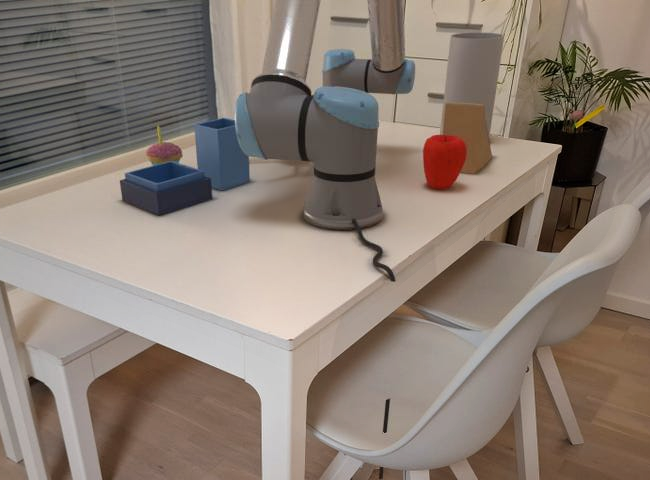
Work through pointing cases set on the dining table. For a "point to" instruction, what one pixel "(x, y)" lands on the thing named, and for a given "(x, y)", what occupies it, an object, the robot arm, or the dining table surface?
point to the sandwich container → (469, 132)
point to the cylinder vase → (473, 71)
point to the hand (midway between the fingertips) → (245, 142)
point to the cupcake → (163, 151)
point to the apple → (443, 160)
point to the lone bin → (221, 154)
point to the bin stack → (165, 187)
